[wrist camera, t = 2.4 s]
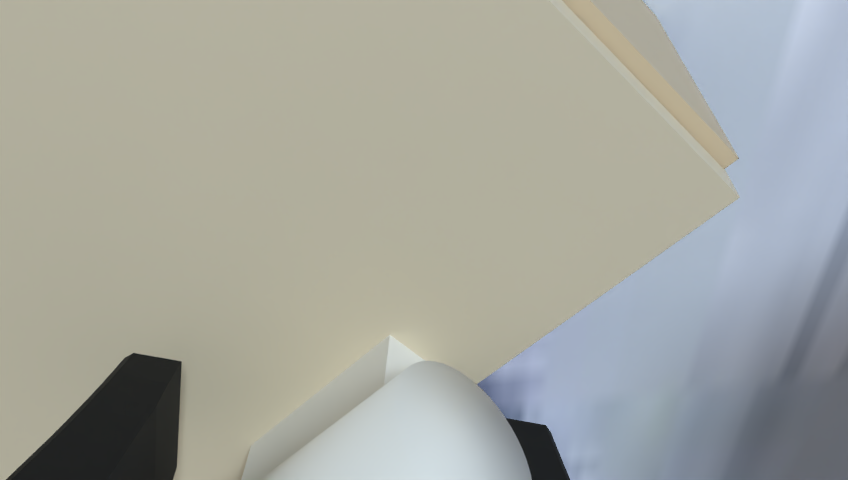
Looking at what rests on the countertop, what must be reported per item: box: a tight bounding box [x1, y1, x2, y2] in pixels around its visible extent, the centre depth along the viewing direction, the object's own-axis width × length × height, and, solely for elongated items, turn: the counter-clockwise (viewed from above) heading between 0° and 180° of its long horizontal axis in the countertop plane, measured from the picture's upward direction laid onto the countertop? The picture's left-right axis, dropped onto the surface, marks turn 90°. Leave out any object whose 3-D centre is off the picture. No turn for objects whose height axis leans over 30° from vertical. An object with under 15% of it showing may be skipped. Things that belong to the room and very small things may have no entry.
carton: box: [562, 0, 739, 169], centre depth 11 cm, size 15×12×6 cm
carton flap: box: [0, 0, 740, 480], centre depth 9 cm, size 7×12×4 cm, turn 137°
